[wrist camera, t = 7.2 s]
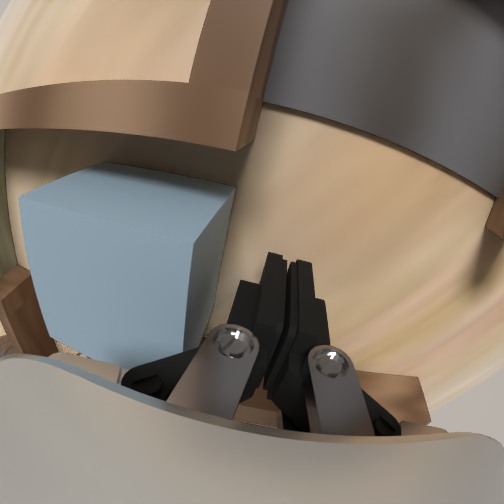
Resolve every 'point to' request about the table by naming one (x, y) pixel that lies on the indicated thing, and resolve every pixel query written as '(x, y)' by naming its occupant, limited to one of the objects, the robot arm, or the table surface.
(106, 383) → the robot arm
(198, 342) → the slate block
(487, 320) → the table surface
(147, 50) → the table surface
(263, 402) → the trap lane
